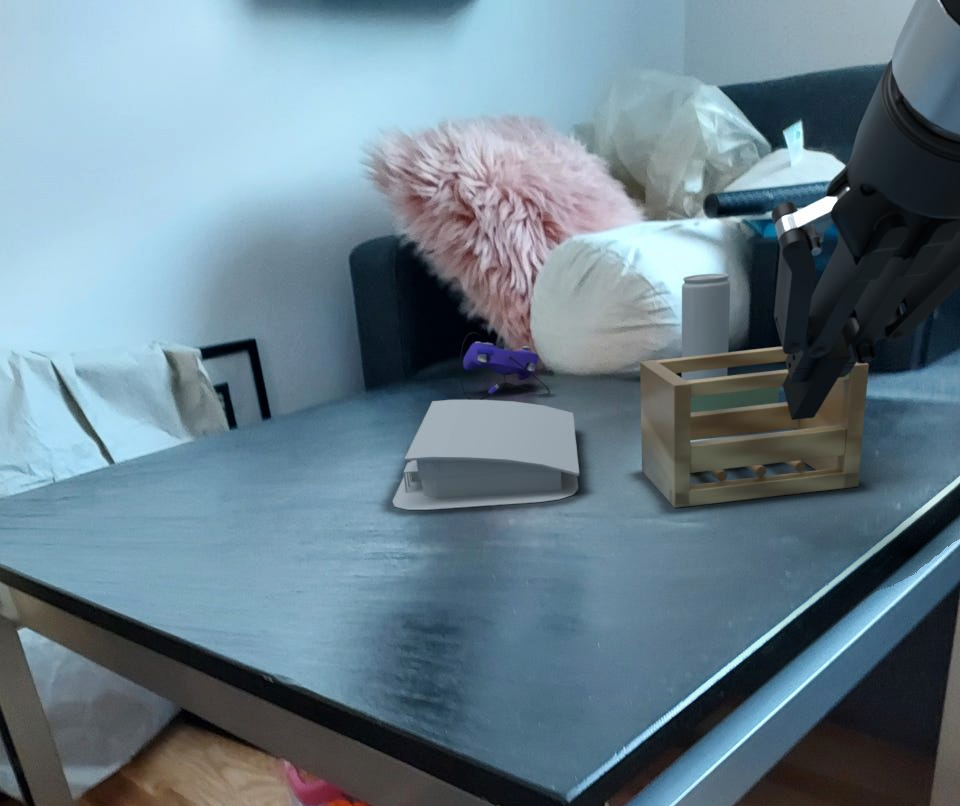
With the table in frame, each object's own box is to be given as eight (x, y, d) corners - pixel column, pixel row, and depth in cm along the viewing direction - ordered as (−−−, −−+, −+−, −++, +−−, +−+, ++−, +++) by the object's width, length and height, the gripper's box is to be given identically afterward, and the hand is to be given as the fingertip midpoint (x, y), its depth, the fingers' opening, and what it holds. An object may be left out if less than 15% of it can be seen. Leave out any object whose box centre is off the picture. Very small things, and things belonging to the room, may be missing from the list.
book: (387, 512, 76) (380, 464, 74) (421, 438, 96) (416, 399, 95) (580, 499, 74) (578, 450, 72) (573, 427, 95) (571, 387, 93)
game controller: (527, 346, 118) (558, 338, 109) (518, 413, 119) (547, 411, 110) (451, 331, 115) (476, 322, 105) (442, 400, 116) (466, 397, 107)
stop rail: (773, 406, 95) (775, 382, 94) (778, 409, 94) (779, 384, 93) (665, 418, 95) (665, 394, 94) (669, 421, 94) (668, 396, 92)
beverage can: (712, 387, 105) (714, 272, 100) (736, 395, 101) (739, 275, 96) (673, 394, 104) (673, 277, 99) (695, 402, 100) (697, 280, 94)
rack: (805, 452, 80) (812, 342, 76) (858, 486, 71) (869, 363, 67) (641, 471, 79) (639, 361, 75) (674, 508, 70) (674, 385, 67)
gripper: (847, 169, 39) (712, 461, 61) (1154, 139, 39) (909, 440, 62) (804, 35, 41) (689, 363, 64) (1093, 9, 42) (879, 343, 64)
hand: (798, 401), depth 63 cm, fingers closed
